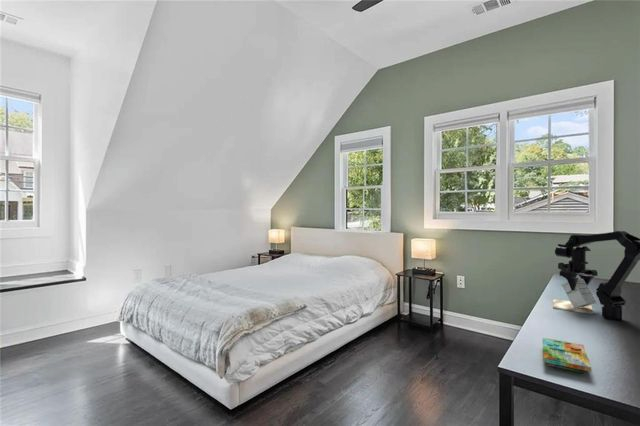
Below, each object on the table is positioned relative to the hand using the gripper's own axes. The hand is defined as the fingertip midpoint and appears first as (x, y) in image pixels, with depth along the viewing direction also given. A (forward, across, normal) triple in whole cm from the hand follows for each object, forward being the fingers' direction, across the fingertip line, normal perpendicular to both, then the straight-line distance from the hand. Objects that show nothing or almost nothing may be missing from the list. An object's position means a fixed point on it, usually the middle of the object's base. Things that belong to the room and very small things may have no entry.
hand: (578, 290), depth 167 cm
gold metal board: (+10, -1, -4) cm, 10 cm away
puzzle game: (+10, +64, +41) cm, 77 cm away
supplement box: (+7, 0, +4) cm, 8 cm away
